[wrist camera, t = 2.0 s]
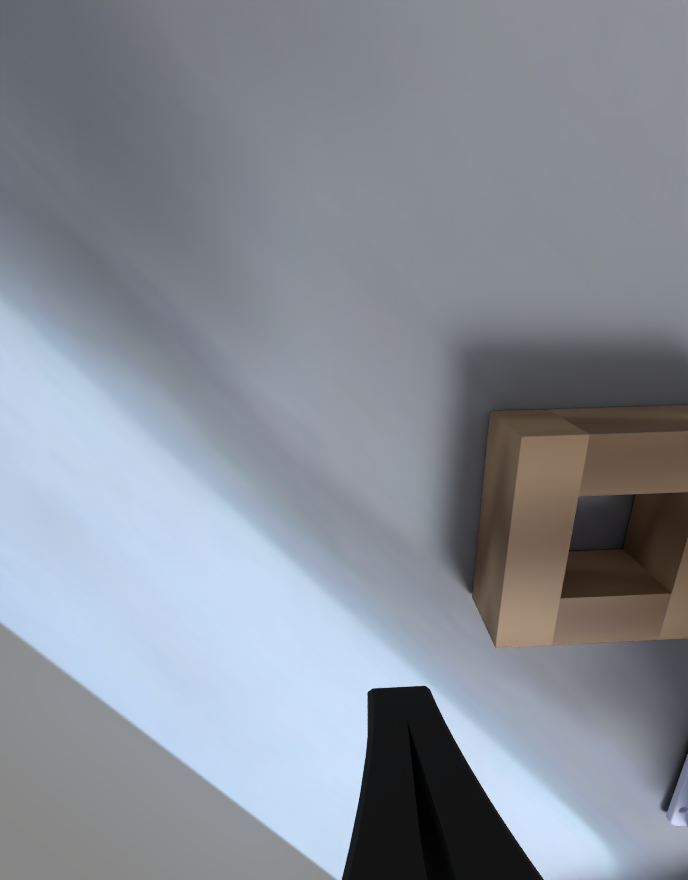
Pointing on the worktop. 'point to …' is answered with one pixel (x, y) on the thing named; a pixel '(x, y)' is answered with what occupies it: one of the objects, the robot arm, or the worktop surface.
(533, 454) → the block
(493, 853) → the robot arm
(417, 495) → the worktop surface
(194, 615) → the worktop surface
